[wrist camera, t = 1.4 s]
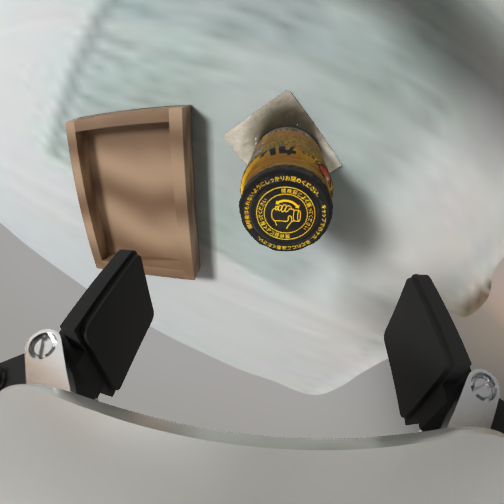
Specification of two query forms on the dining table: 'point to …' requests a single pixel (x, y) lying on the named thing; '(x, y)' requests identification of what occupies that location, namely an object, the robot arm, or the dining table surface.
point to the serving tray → (138, 187)
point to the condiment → (284, 175)
